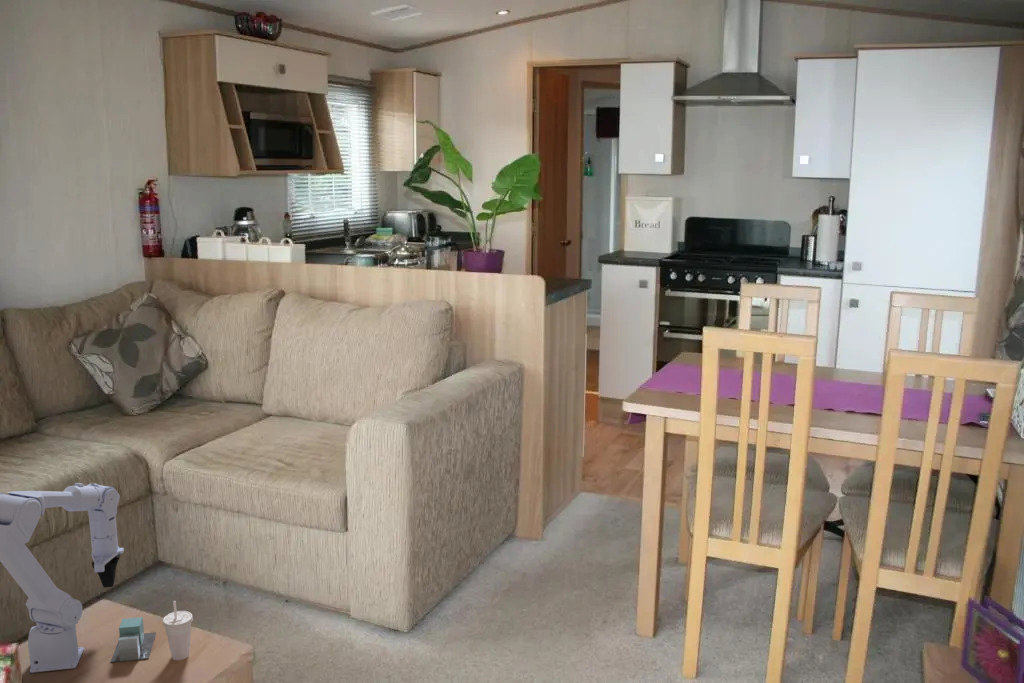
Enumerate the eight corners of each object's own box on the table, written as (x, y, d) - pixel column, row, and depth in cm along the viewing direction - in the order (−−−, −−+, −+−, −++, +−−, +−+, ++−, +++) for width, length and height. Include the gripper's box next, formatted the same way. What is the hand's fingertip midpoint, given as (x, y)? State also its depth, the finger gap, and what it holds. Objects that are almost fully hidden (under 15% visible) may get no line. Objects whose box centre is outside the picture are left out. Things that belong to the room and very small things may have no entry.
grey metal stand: (110, 663, 201) (108, 641, 200) (120, 636, 212) (118, 615, 210) (148, 659, 203) (146, 637, 202) (156, 633, 213) (154, 612, 212)
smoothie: (159, 658, 203) (155, 603, 200) (181, 645, 208) (177, 590, 205) (179, 666, 200) (175, 610, 197) (201, 652, 206) (197, 597, 202)
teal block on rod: (120, 647, 204) (118, 628, 202) (124, 638, 207) (122, 618, 206) (141, 645, 204) (139, 626, 203) (144, 636, 208) (142, 617, 207)
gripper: (115, 545, 205) (120, 599, 208) (127, 519, 219) (132, 570, 222) (82, 548, 204) (87, 602, 207) (96, 522, 217) (101, 573, 221)
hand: (108, 586), depth 214 cm, fingers closed
